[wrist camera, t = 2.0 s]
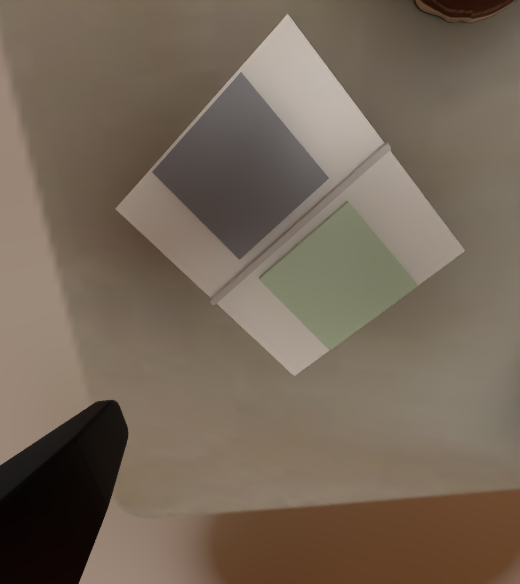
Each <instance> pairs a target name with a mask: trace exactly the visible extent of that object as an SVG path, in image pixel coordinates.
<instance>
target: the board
mask: <svg viewBox="0 0 520 584" xmlns="http://www.w3.org/2000/svg"><path fill="white" fill-rule="evenodd" d="M391 149H392V148H391V147H390V145H389V144H388V143H384V142H383V140H382V139H381V138H380V136H379V135H378V134H377V132H376V131H375V130H374V128H373V127H372V126H371V124H370V123H369V122H368V120H367V119H366V118H365V116H364V115H363V114H362V112H361V111H360V110H359V108H358V107H357V106H356V104H355V103H354V102H353V100H352V99H351V98H350V96H349V95H348V94H347V92H346V91H345V90H344V88H343V87H342V86H341V84H340V83H339V82H338V80H337V79H336V78H335V76H334V75H333V74H332V72H331V71H330V70H329V68H328V67H327V66H326V64H325V63H324V62H323V60H322V59H321V58H320V56H319V55H318V54H317V52H316V51H315V50H314V48H313V47H312V46H311V44H310V43H309V42H308V40H307V39H306V38H305V36H304V35H303V34H302V32H301V31H300V30H299V28H298V27H297V26H296V24H295V23H294V22H293V20H292V19H291V18H290V16H289V15H288V14H287V15H286V16H285V17H284V19H283V20H282V21H281V22H280V23H279V24H278V25H277V27H276V28H275V29H274V30H273V31H272V32H271V33H270V34H269V36H268V37H267V38H266V39H265V40H264V41H263V42H262V43H261V45H260V46H259V47H258V48H257V49H256V50H255V51H254V53H253V54H252V55H251V56H250V57H249V58H248V59H247V60H246V62H245V63H244V64H243V65H242V66H241V67H240V68H239V69H238V71H237V72H236V73H235V74H234V75H233V76H232V77H231V79H230V80H229V81H228V82H227V83H226V84H225V85H224V86H223V88H222V89H221V90H220V91H219V92H218V93H217V94H216V95H215V97H214V98H213V99H212V100H211V101H210V102H209V103H208V105H207V106H206V107H205V108H204V109H203V110H202V111H201V112H200V114H199V115H198V116H197V117H196V118H195V119H194V120H193V121H192V123H191V124H190V125H189V126H188V127H187V128H186V129H185V131H184V132H183V133H182V134H181V135H180V136H179V137H178V138H177V140H176V141H175V142H174V143H173V144H172V145H171V146H170V147H169V149H168V150H167V151H166V152H165V153H164V154H163V155H162V157H161V158H160V159H159V160H158V161H157V162H156V163H155V164H154V166H153V167H152V168H151V169H150V170H149V171H148V172H147V173H146V175H145V176H144V177H143V178H142V179H141V180H140V181H139V183H138V184H137V185H136V186H135V187H134V188H133V189H132V190H131V192H130V193H129V194H128V195H127V196H126V197H125V198H124V199H123V201H122V202H121V203H120V204H119V205H118V206H117V207H116V210H117V211H118V212H119V213H120V214H121V215H122V216H123V217H124V218H126V219H127V220H128V221H129V222H130V223H131V224H132V225H133V226H134V227H135V228H136V229H137V230H138V231H139V232H141V233H142V234H143V235H144V236H145V237H146V238H147V239H148V240H149V241H150V242H151V243H152V244H153V245H154V246H155V247H157V248H158V249H159V250H160V251H161V252H162V253H163V254H164V255H165V256H166V257H167V258H168V259H169V260H170V261H172V262H173V263H174V264H175V265H176V266H177V267H178V268H179V269H180V270H181V271H182V272H183V273H184V274H185V275H187V276H188V277H189V278H190V279H191V280H192V281H193V282H194V283H195V284H196V285H197V286H198V287H199V288H200V289H201V290H203V291H204V292H205V293H206V294H207V295H208V296H209V297H210V298H211V299H210V303H211V304H212V305H213V306H214V305H215V304H218V305H219V306H220V307H221V308H222V309H223V310H224V311H225V312H226V313H227V314H228V315H229V316H230V317H231V318H233V319H234V320H235V321H236V322H237V323H238V324H239V325H240V326H241V327H242V328H243V329H244V330H245V331H246V332H247V333H249V334H250V335H251V336H252V337H253V338H254V339H255V340H256V341H257V342H258V343H259V344H260V345H261V346H262V347H264V348H265V349H266V350H267V351H268V352H269V353H270V354H271V355H272V356H273V357H274V358H275V359H276V360H277V361H279V362H280V363H281V364H282V365H283V366H284V367H285V368H286V369H287V370H288V371H289V372H290V373H291V374H292V375H293V376H295V375H297V374H298V373H299V372H301V371H302V370H303V369H305V368H306V367H308V366H309V365H310V364H312V363H313V362H314V361H316V360H317V359H318V358H320V357H321V356H323V355H324V354H325V353H327V352H328V351H329V350H332V349H333V348H335V347H336V346H337V345H339V344H340V343H341V342H343V341H344V340H345V339H347V338H348V337H350V336H351V335H352V334H354V333H355V332H356V331H358V330H359V329H360V328H362V327H363V326H365V325H366V324H367V323H369V322H370V321H371V320H373V319H374V318H376V317H377V316H378V315H380V314H381V313H382V312H384V311H385V310H386V309H388V308H389V307H391V306H392V305H393V304H395V303H396V302H397V301H399V300H400V299H401V298H403V297H404V296H406V295H407V294H408V293H410V292H411V291H412V290H414V289H415V288H416V287H418V285H419V284H421V283H422V282H424V281H425V280H426V279H428V278H429V277H430V276H432V275H433V274H434V273H436V272H437V271H439V270H440V269H441V268H443V267H444V266H445V265H447V264H448V263H449V262H451V261H452V260H454V259H455V258H456V257H458V256H459V255H460V254H462V253H463V252H464V251H465V250H464V249H463V247H462V246H461V245H460V243H459V242H458V241H457V239H456V238H455V237H454V235H453V234H452V233H451V231H450V230H449V229H448V227H447V226H446V225H445V223H444V222H443V221H442V219H441V218H440V217H439V215H438V214H437V213H436V211H435V210H434V209H433V207H432V206H431V205H430V203H429V202H428V201H427V199H426V198H425V197H424V195H423V194H422V192H421V191H420V190H419V188H418V187H417V186H416V184H415V183H414V182H413V180H412V179H411V178H410V176H409V175H408V174H407V172H406V171H405V170H404V168H403V167H402V166H401V164H400V163H399V162H398V160H397V159H396V158H395V156H394V155H393V154H392V152H391V151H390V150H391Z"/></svg>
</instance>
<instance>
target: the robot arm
mask: <svg viewBox="0 0 520 584" xmlns="http://www.w3.org/2000/svg"><path fill="white" fill-rule="evenodd" d="M127 440H128V427H127V424H126V422H125V419H124V416H123V414H122V411H121V409H120V406H119V404H118V402H117V401H115V400H105V401H98V402H95V403H94V404H92V405H91V406H89V407H88V408H87V409H85V410H83V411H82V412H80V413H79V414H77V415H76V416H74V417H73V418H71V419H70V420H68V421H67V422H65V423H64V424H62V425H61V426H59V427H58V428H56V429H55V430H53V431H52V432H50V433H48V434H47V435H45V436H44V437H42V438H41V439H39V440H38V441H37V442H35V443H33V444H32V445H31V446H29V447H27V448H26V449H24V450H23V451H21V452H20V453H18V454H17V455H15V456H14V457H12V458H11V459H9V460H8V461H7V462H5V463H3V464H2V465H0V584H79V581H80V578H81V576H82V574H83V571H84V569H85V566H86V563H87V561H88V558H89V556H90V553H91V550H92V548H93V545H94V543H95V540H96V537H97V535H98V532H99V530H100V527H101V525H102V522H103V519H104V517H105V514H106V511H107V509H108V506H109V503H110V499H111V496H112V493H113V489H114V486H115V482H116V479H117V475H118V472H119V468H120V465H121V461H122V458H123V454H124V451H125V447H126V444H127Z"/></svg>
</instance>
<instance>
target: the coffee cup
mask: <svg viewBox="0 0 520 584" xmlns="http://www.w3.org/2000/svg"><path fill="white" fill-rule="evenodd" d="M514 1H516V0H416V4H417V5H418V6H419V7H420V9H421V10H422V11H424V12H427V13H430V14H433V15H439V16H440V17H442V18H444V19H445V20H446V21H449V22H452V23H454V22H456V21H464V22H468V23H473V22H476V21H478V20H481V19H485V18H488V17H491V16H493V15H495V14H497V13H498V12H500V11H502V10H503V9H505V8H507V7H508V6H509V5H510V4H512V3H513V2H514Z"/></svg>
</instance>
